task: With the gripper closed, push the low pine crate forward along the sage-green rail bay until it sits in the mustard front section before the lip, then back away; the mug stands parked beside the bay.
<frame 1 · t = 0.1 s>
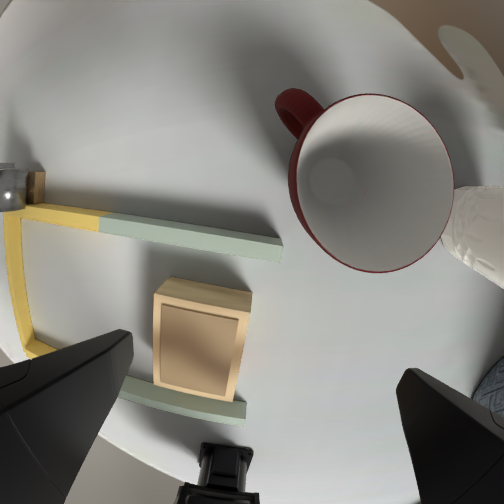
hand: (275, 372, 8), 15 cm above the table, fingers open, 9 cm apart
crate: (204, 329, 24), on the table
winch: (32, 186, 21), on the table
white cup: (462, 221, 21), on the table
bay: (249, 339, 24), on the table
mug: (319, 169, 20), on the table
vase: (497, 381, 26), on the table
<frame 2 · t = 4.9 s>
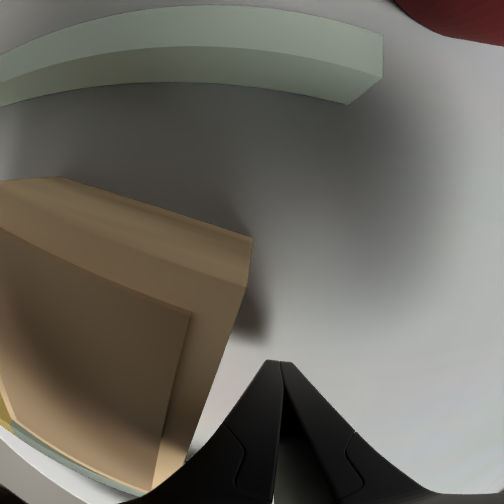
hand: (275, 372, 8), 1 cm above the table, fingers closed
crate: (121, 324, 9), on the table
bay: (269, 353, 9), on the table
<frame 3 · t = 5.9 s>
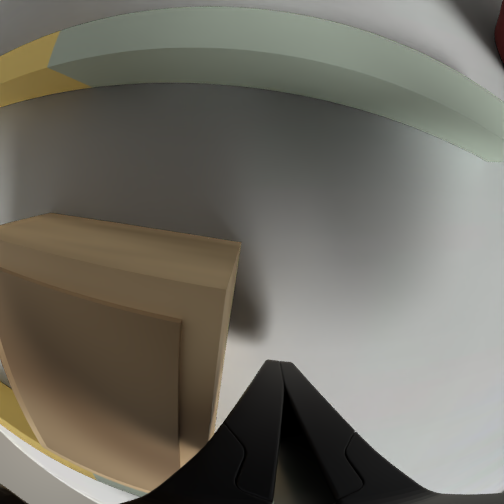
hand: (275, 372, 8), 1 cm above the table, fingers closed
crate: (133, 342, 9), on the table, touching gripper
bay: (416, 360, 9), on the table
mug: (502, 42, 5), on the table
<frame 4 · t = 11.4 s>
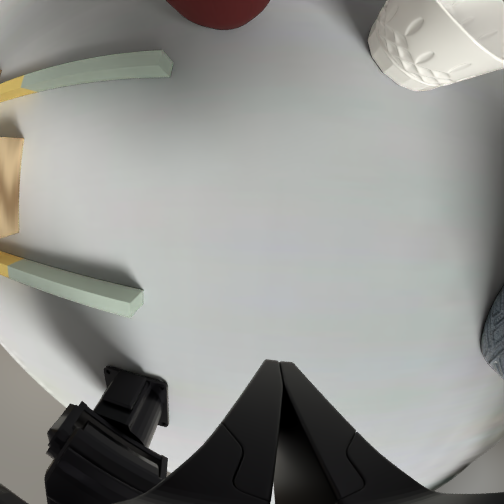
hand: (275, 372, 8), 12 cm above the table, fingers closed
crate: (3, 184, 19), on the table
white cup: (404, 55, 15), on the table
bay: (138, 183, 18), on the table
mug: (216, 6, 15), on the table
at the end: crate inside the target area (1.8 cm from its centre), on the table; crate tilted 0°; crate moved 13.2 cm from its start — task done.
